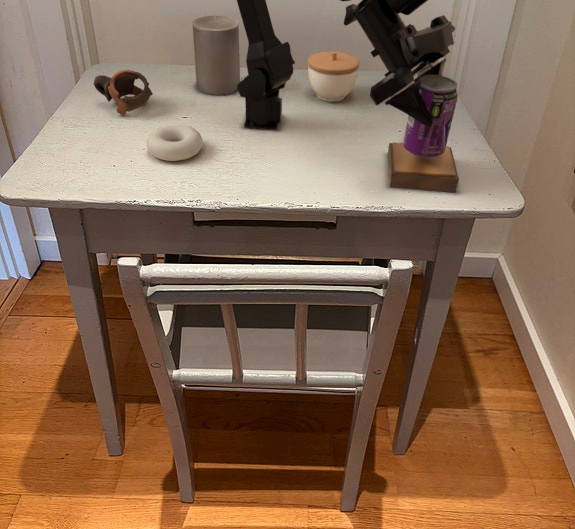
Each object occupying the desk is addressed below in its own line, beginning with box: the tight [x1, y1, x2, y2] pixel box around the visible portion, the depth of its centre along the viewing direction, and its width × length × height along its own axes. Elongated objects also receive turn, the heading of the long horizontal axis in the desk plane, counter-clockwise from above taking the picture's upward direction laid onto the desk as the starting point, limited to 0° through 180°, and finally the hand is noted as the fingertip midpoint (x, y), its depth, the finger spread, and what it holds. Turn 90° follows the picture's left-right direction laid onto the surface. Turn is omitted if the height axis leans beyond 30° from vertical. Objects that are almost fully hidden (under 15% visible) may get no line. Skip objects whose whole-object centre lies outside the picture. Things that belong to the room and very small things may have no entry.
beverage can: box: [402, 75, 459, 158], centre depth 93 cm, size 7×7×12 cm
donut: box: [146, 124, 204, 162], centre depth 102 cm, size 10×4×10 cm
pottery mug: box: [93, 69, 154, 116], centre depth 115 cm, size 12×10×8 cm
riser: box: [386, 141, 460, 193], centre depth 98 cm, size 11×11×3 cm
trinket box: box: [307, 51, 360, 103], centre depth 121 cm, size 11×11×9 cm
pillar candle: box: [192, 15, 241, 96], centre depth 121 cm, size 10×10×15 cm
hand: (438, 116), depth 92 cm, fingers closed on beverage can, 7 cm apart
